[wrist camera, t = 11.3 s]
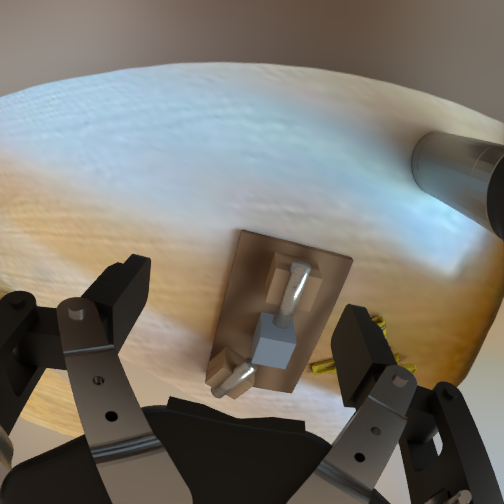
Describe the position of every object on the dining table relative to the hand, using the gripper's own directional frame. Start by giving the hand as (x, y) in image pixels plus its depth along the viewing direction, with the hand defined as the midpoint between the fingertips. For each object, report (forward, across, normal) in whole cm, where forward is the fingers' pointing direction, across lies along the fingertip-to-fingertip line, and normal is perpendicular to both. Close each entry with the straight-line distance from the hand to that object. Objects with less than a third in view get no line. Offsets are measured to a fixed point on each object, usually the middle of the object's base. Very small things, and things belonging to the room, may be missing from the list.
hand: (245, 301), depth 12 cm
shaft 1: (+25, -3, +30) cm, 40 cm away
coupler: (+29, -8, +22) cm, 37 cm away
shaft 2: (+25, -7, +13) cm, 30 cm away
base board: (+30, -7, +22) cm, 38 cm away
